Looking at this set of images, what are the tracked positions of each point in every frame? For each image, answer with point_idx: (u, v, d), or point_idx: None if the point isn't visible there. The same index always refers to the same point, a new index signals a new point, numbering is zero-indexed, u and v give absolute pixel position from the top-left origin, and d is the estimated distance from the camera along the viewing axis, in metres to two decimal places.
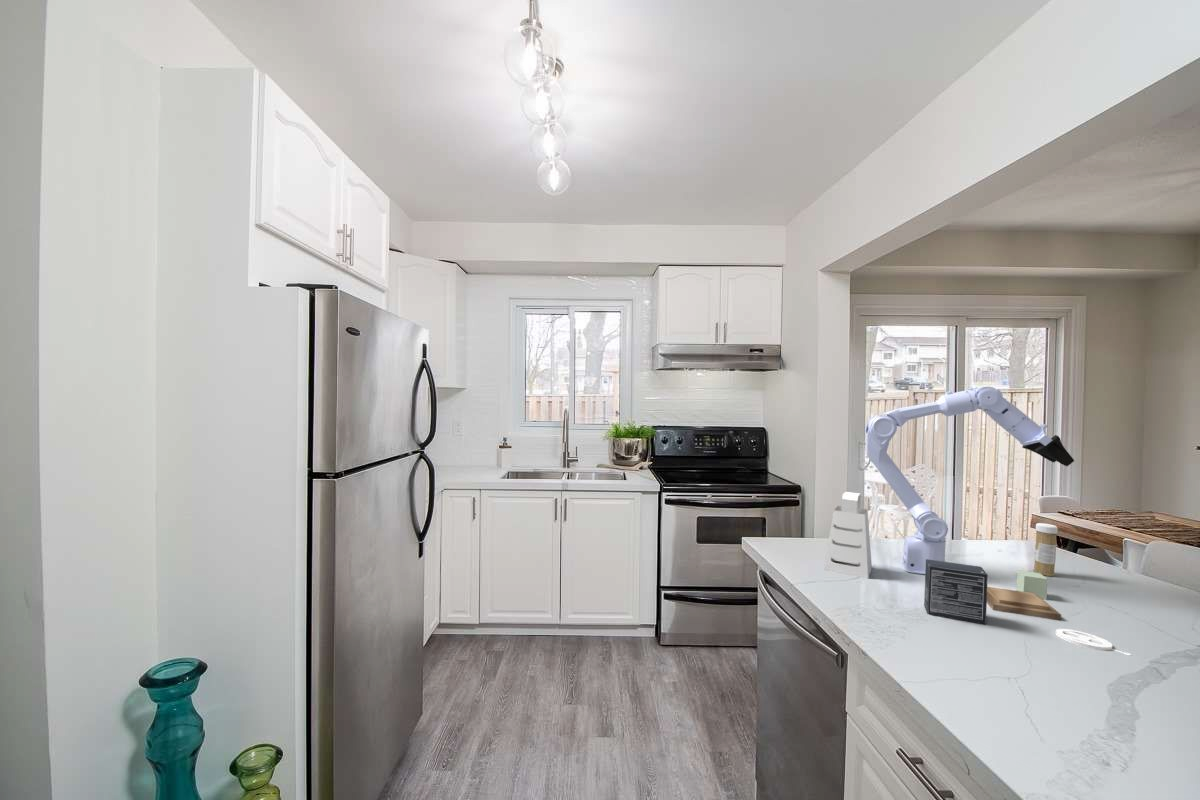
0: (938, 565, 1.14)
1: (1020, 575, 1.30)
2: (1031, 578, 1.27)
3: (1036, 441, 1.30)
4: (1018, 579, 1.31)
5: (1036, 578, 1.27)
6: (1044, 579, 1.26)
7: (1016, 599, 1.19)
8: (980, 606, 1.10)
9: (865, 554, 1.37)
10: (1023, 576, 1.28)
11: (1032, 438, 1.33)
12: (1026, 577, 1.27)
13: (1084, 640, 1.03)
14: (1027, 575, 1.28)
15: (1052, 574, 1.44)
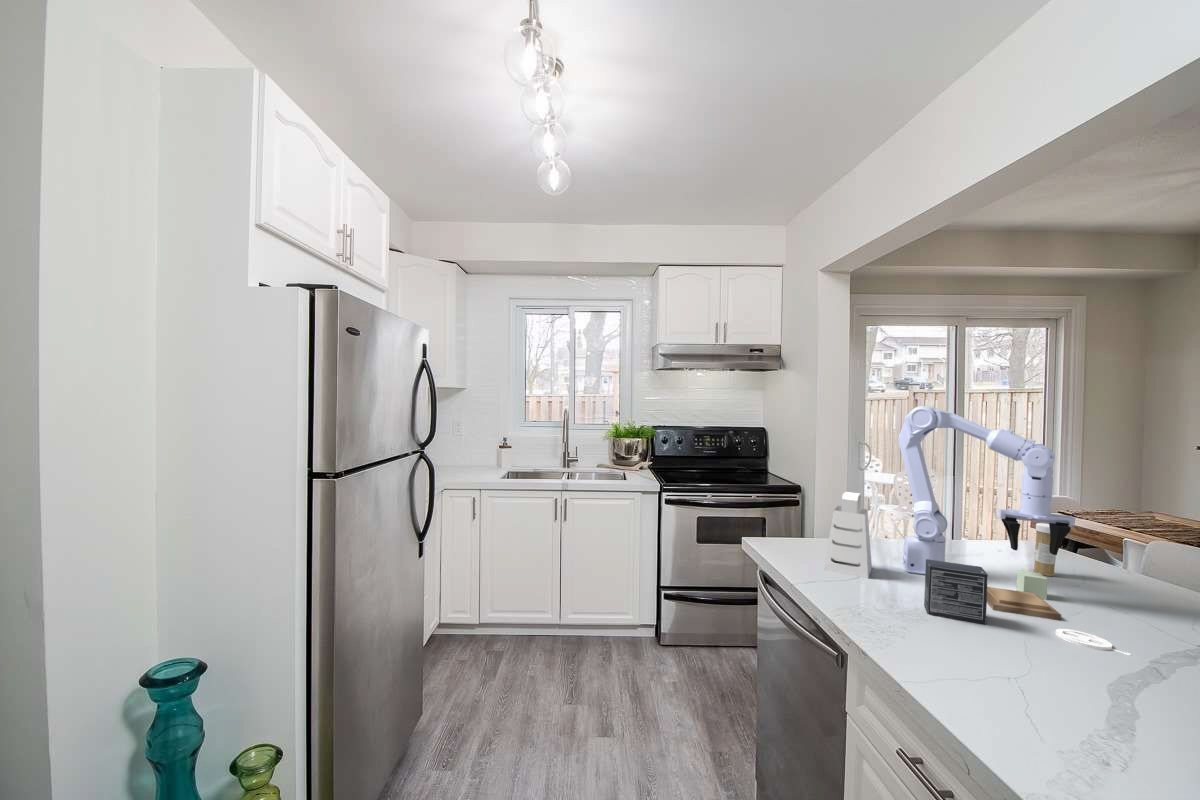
0: (938, 565, 1.14)
1: (1020, 575, 1.30)
2: (1031, 578, 1.27)
3: None
4: (1018, 579, 1.31)
5: (1036, 578, 1.27)
6: (1044, 579, 1.26)
7: (1016, 599, 1.19)
8: (980, 607, 1.10)
9: (865, 554, 1.37)
10: (1023, 576, 1.28)
11: (1019, 511, 1.30)
12: (1026, 577, 1.27)
13: (1084, 640, 1.03)
14: (1027, 575, 1.28)
15: (1052, 574, 1.44)
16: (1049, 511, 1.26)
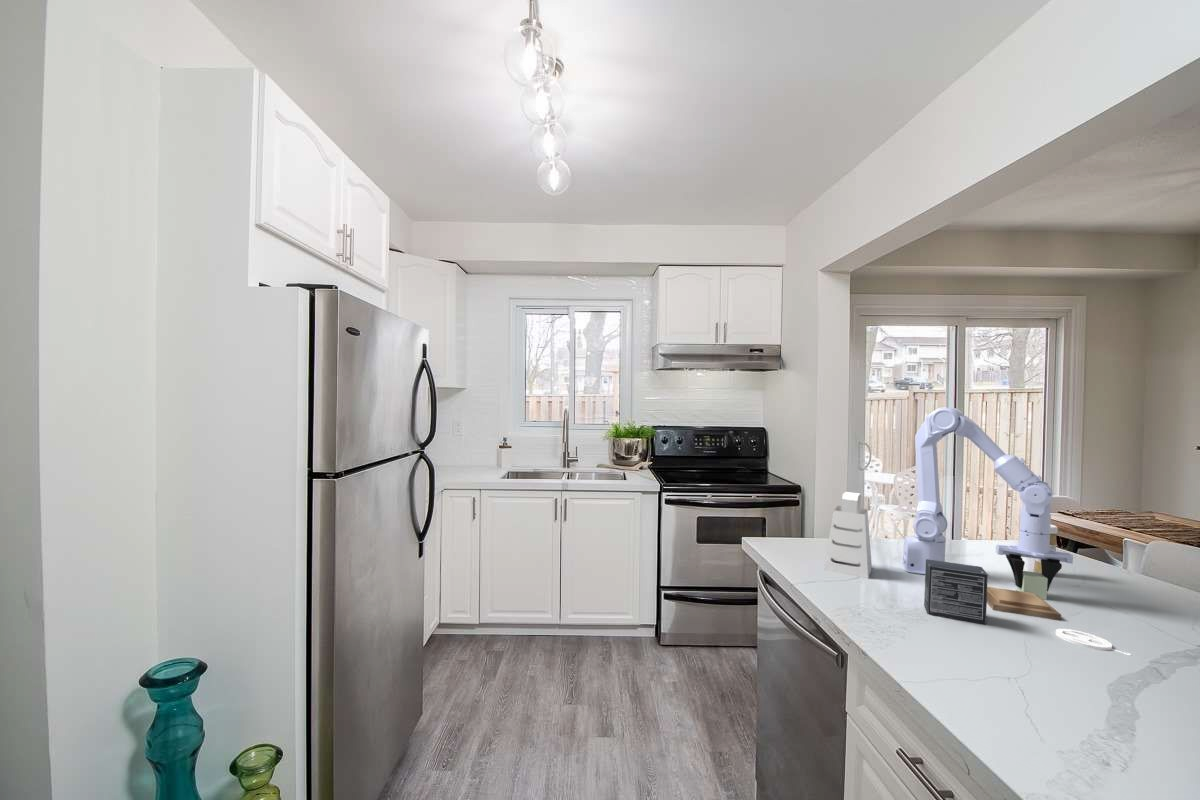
0: (938, 565, 1.14)
1: None
2: (1031, 578, 1.27)
3: None
4: None
5: (1036, 578, 1.27)
6: (1044, 579, 1.26)
7: (1016, 599, 1.19)
8: (980, 607, 1.10)
9: (865, 554, 1.37)
10: (1023, 576, 1.28)
11: (1017, 547, 1.30)
12: (1026, 576, 1.27)
13: (1084, 640, 1.03)
14: (1027, 575, 1.28)
15: None
16: (1047, 548, 1.26)
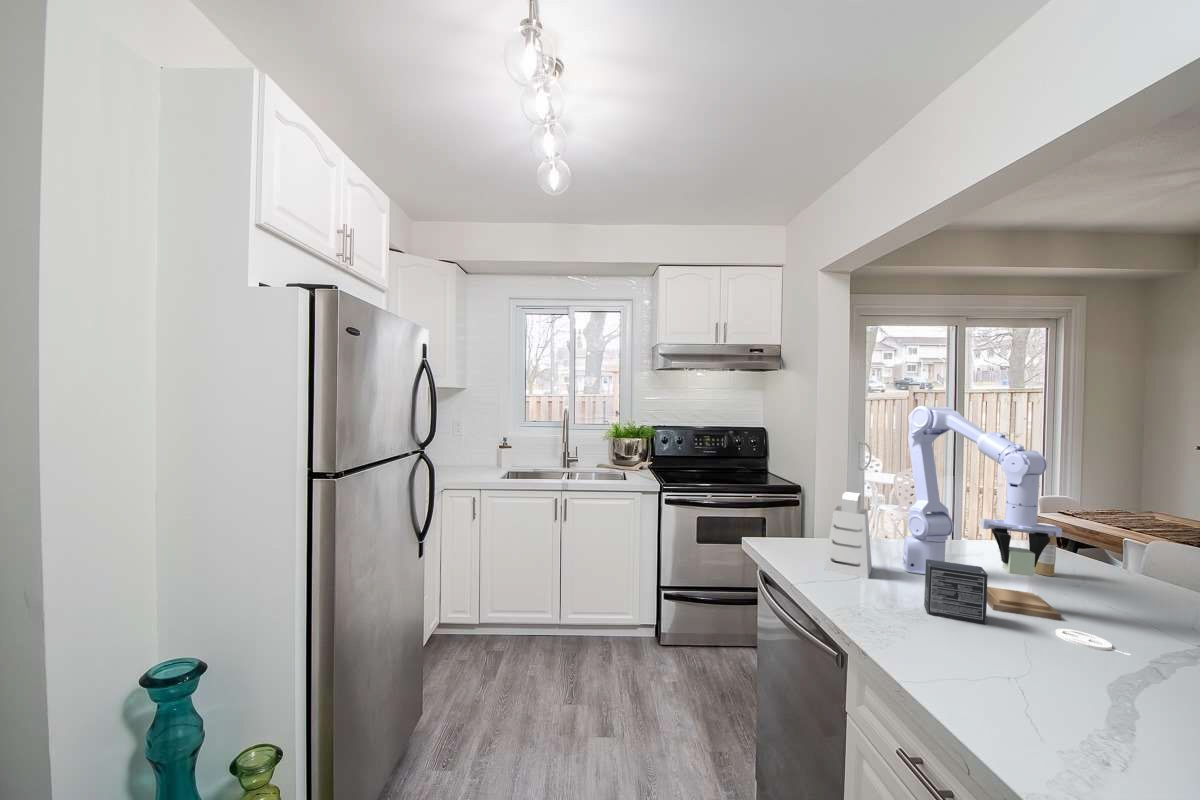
0: (938, 565, 1.14)
1: None
2: (1018, 553, 1.20)
3: None
4: None
5: (1023, 553, 1.19)
6: (1031, 554, 1.19)
7: (1016, 599, 1.19)
8: (980, 607, 1.10)
9: (865, 554, 1.37)
10: (1009, 551, 1.21)
11: (1004, 521, 1.23)
12: (1012, 552, 1.20)
13: (1084, 640, 1.03)
14: (1013, 550, 1.21)
15: (1052, 574, 1.44)
16: (1035, 521, 1.19)
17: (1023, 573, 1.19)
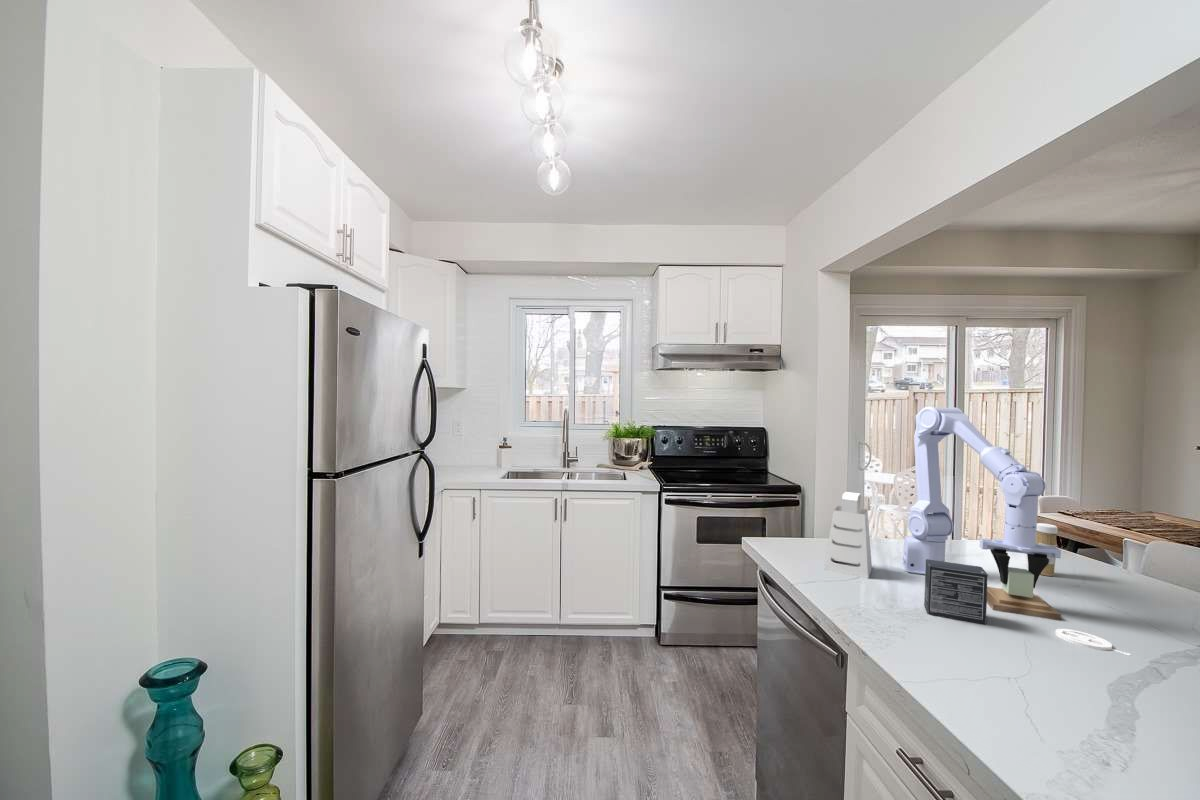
0: (938, 565, 1.14)
1: None
2: (1016, 574, 1.20)
3: None
4: None
5: (1022, 574, 1.19)
6: (1030, 575, 1.19)
7: (1016, 599, 1.19)
8: (980, 607, 1.10)
9: (865, 554, 1.37)
10: (1008, 572, 1.21)
11: (1002, 541, 1.23)
12: (1011, 573, 1.20)
13: (1084, 640, 1.03)
14: (1012, 571, 1.21)
15: (1052, 574, 1.44)
16: (1033, 542, 1.19)
17: (1022, 594, 1.19)
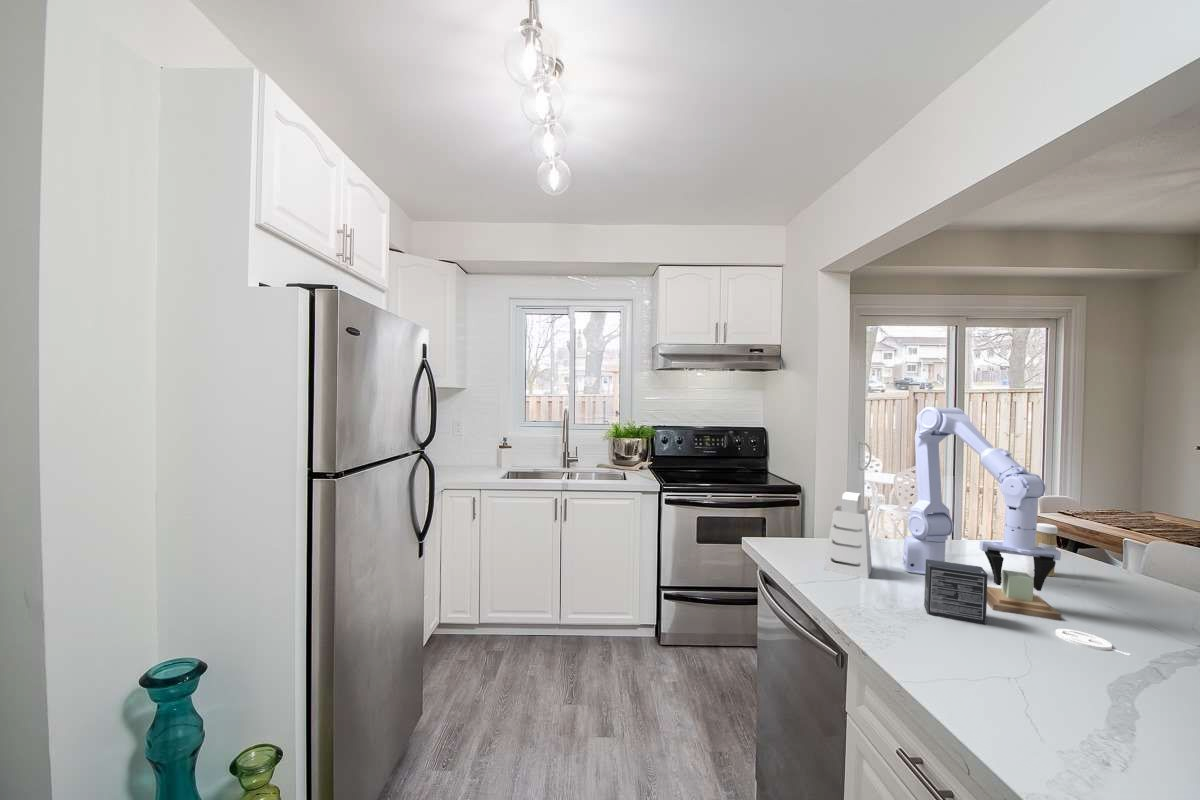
0: (938, 565, 1.14)
1: (1005, 575, 1.22)
2: (1016, 578, 1.20)
3: None
4: (1003, 579, 1.23)
5: (1022, 578, 1.19)
6: (1030, 579, 1.19)
7: (1016, 599, 1.19)
8: (980, 606, 1.10)
9: (865, 554, 1.37)
10: (1008, 576, 1.21)
11: (1002, 543, 1.23)
12: (1011, 577, 1.20)
13: (1084, 640, 1.03)
14: (1012, 575, 1.21)
15: (1052, 574, 1.44)
16: (1033, 544, 1.19)
17: (1022, 598, 1.19)
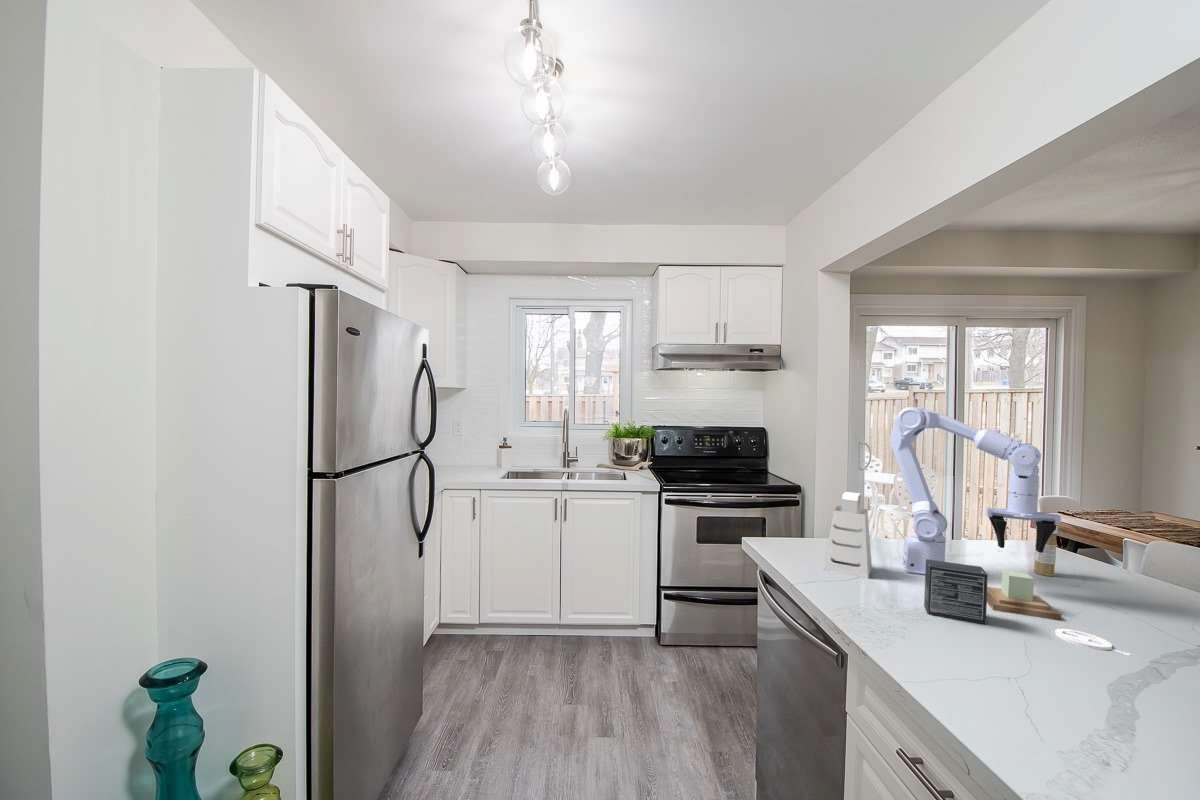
0: (938, 565, 1.14)
1: (1005, 575, 1.22)
2: (1016, 578, 1.20)
3: None
4: (1003, 579, 1.23)
5: (1022, 578, 1.19)
6: (1030, 579, 1.19)
7: (1016, 599, 1.19)
8: (980, 607, 1.10)
9: (865, 554, 1.37)
10: (1008, 576, 1.21)
11: (1006, 509, 1.32)
12: (1011, 577, 1.20)
13: (1084, 640, 1.03)
14: (1012, 575, 1.21)
15: (1052, 574, 1.44)
16: (1035, 509, 1.28)
17: (1022, 598, 1.19)
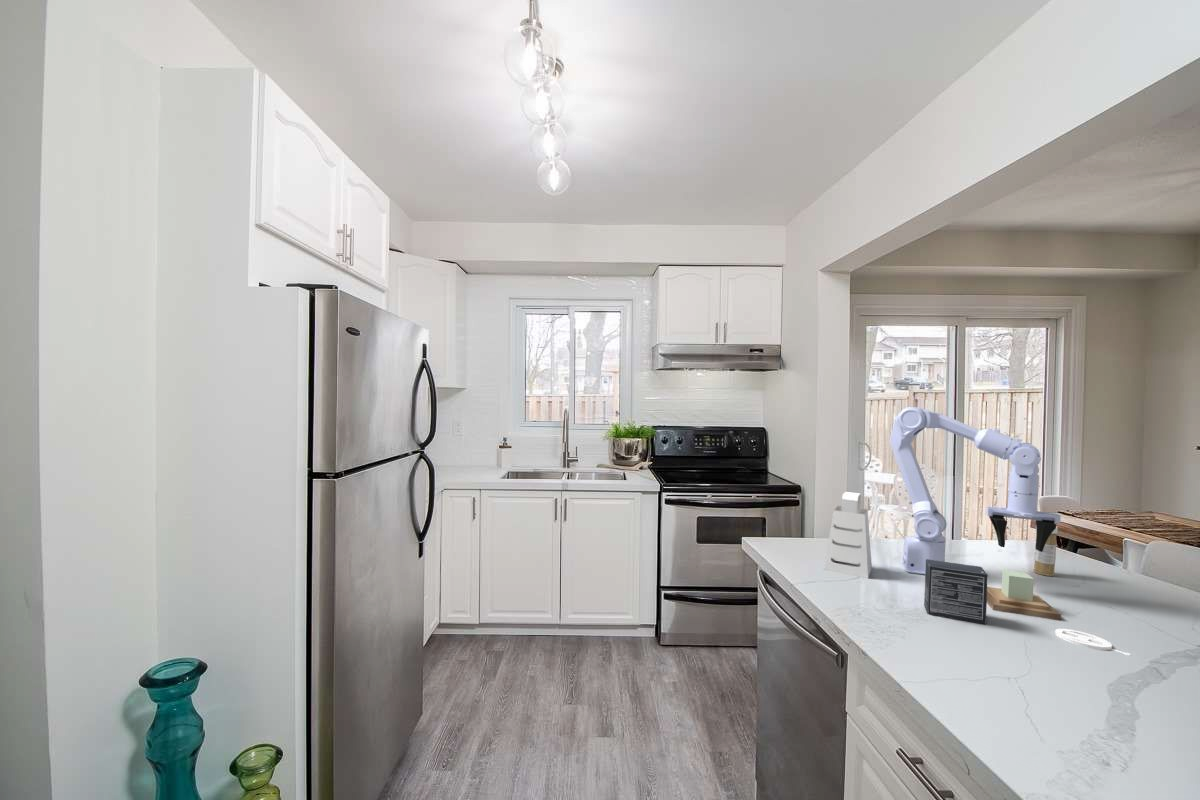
0: (938, 565, 1.14)
1: (1005, 575, 1.22)
2: (1016, 578, 1.20)
3: None
4: (1003, 579, 1.23)
5: (1022, 578, 1.19)
6: (1030, 579, 1.19)
7: (1016, 599, 1.19)
8: (980, 607, 1.10)
9: (865, 554, 1.37)
10: (1008, 576, 1.21)
11: (1006, 509, 1.33)
12: (1011, 577, 1.20)
13: (1083, 640, 1.03)
14: (1012, 575, 1.21)
15: (1052, 574, 1.44)
16: (1035, 508, 1.28)
17: (1022, 598, 1.19)
